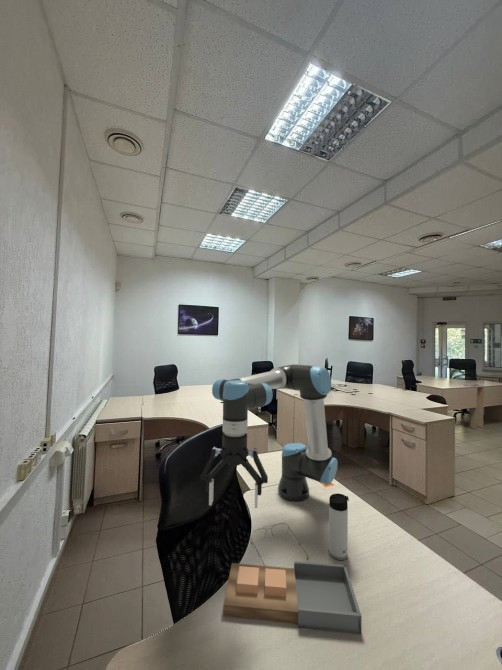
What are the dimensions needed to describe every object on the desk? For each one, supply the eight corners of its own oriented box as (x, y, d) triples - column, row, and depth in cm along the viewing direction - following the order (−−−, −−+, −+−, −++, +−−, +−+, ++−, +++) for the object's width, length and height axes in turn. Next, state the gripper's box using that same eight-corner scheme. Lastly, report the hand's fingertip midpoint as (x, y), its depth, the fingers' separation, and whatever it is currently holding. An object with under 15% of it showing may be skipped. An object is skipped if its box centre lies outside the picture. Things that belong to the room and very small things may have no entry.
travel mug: (349, 562, 93) (350, 502, 93) (329, 559, 94) (329, 500, 95) (347, 548, 99) (347, 492, 100) (328, 545, 101) (328, 490, 101)
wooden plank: (231, 572, 89) (231, 563, 89) (294, 577, 87) (294, 568, 87) (223, 615, 75) (223, 604, 75) (298, 623, 73) (298, 611, 73)
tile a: (239, 574, 84) (239, 566, 84) (258, 576, 84) (259, 567, 84) (236, 592, 78) (236, 583, 78) (257, 594, 78) (257, 585, 78)
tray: (294, 575, 88) (294, 560, 88) (345, 579, 86) (345, 565, 86) (298, 627, 72) (298, 609, 72) (361, 633, 70) (361, 616, 71)
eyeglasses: (286, 532, 108) (286, 519, 108) (308, 561, 94) (308, 546, 94) (248, 544, 102) (248, 530, 102) (266, 576, 88) (266, 560, 88)
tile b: (265, 576, 84) (265, 568, 84) (285, 578, 83) (285, 570, 83) (264, 594, 78) (264, 585, 78) (286, 596, 77) (286, 587, 77)
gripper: (190, 435, 80) (188, 509, 80) (276, 438, 78) (275, 514, 78) (197, 427, 88) (195, 494, 87) (276, 430, 86) (274, 499, 85)
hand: (233, 504), depth 82 cm, fingers open, 13 cm apart
